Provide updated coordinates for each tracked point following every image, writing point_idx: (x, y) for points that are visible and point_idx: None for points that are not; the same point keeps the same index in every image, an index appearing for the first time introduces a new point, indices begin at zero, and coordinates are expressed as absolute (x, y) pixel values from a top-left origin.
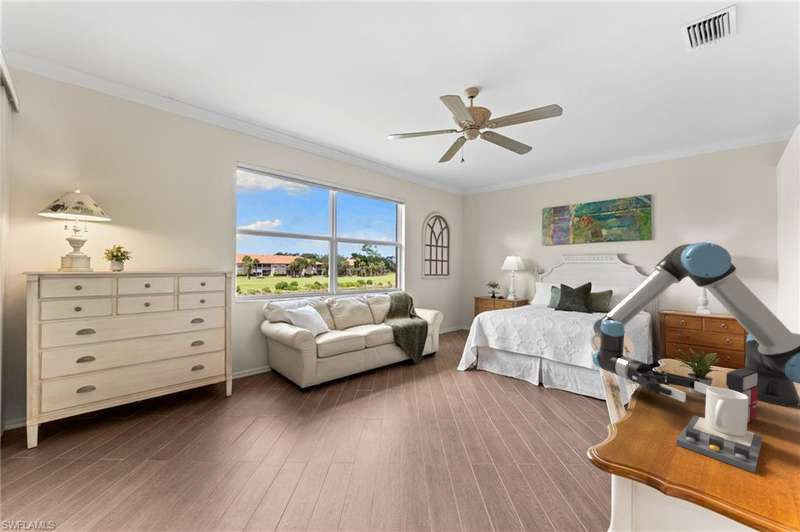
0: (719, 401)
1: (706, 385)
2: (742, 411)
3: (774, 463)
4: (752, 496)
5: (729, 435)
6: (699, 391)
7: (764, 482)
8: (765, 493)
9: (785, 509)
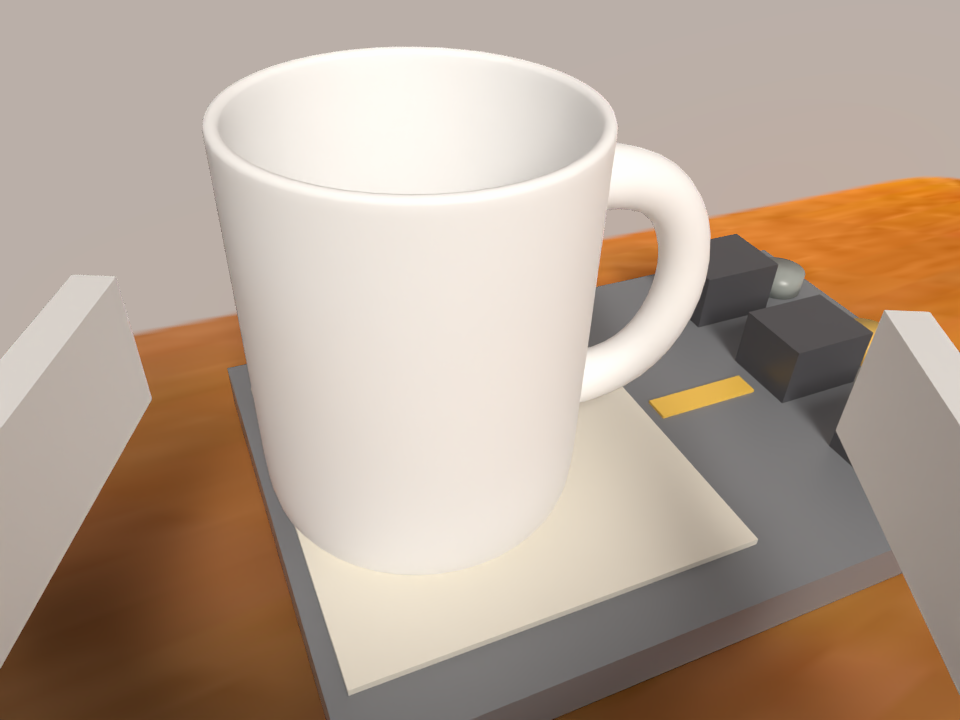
0: (640, 156)
1: (17, 400)
2: (460, 176)
3: None
4: (942, 233)
5: None
6: (14, 628)
7: (783, 252)
8: (860, 230)
9: (872, 195)
